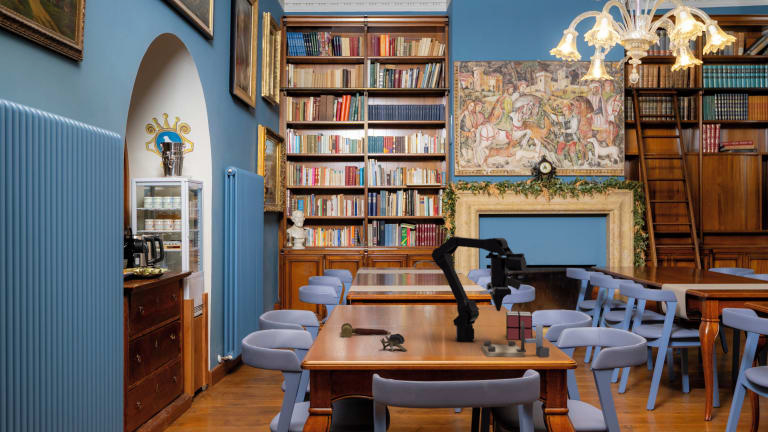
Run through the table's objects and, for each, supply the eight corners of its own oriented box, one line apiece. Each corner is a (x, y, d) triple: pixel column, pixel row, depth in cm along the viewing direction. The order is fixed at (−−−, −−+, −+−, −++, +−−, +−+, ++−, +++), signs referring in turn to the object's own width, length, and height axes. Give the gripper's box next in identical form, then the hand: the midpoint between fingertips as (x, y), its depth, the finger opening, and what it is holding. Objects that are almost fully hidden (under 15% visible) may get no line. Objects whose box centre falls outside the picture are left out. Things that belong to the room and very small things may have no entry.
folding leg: (527, 355, 193) (526, 326, 193) (523, 353, 196) (523, 325, 196) (544, 354, 195) (544, 326, 195) (540, 352, 197) (540, 324, 197)
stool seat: (487, 356, 192) (487, 322, 193) (481, 348, 205) (481, 316, 206) (526, 357, 192) (526, 322, 192) (518, 348, 205) (518, 316, 205)
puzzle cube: (532, 341, 219) (532, 315, 220) (506, 339, 221) (506, 314, 222) (530, 336, 229) (530, 312, 229) (506, 335, 231) (506, 311, 231)
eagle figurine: (380, 350, 198) (405, 346, 196) (379, 331, 202) (403, 327, 200) (385, 357, 204) (409, 353, 202) (383, 339, 208) (407, 335, 207)
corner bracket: (537, 355, 194) (537, 347, 194) (546, 355, 195) (546, 346, 195) (539, 357, 192) (539, 348, 192) (549, 356, 193) (549, 348, 193)
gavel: (390, 325, 236) (392, 329, 226) (389, 336, 236) (391, 341, 226) (341, 322, 235) (341, 326, 225) (340, 333, 235) (340, 338, 225)
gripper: (525, 272, 203) (525, 315, 202) (514, 268, 221) (514, 307, 221) (494, 272, 203) (494, 314, 202) (486, 268, 221) (486, 307, 221)
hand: (498, 311), depth 212 cm, fingers closed
